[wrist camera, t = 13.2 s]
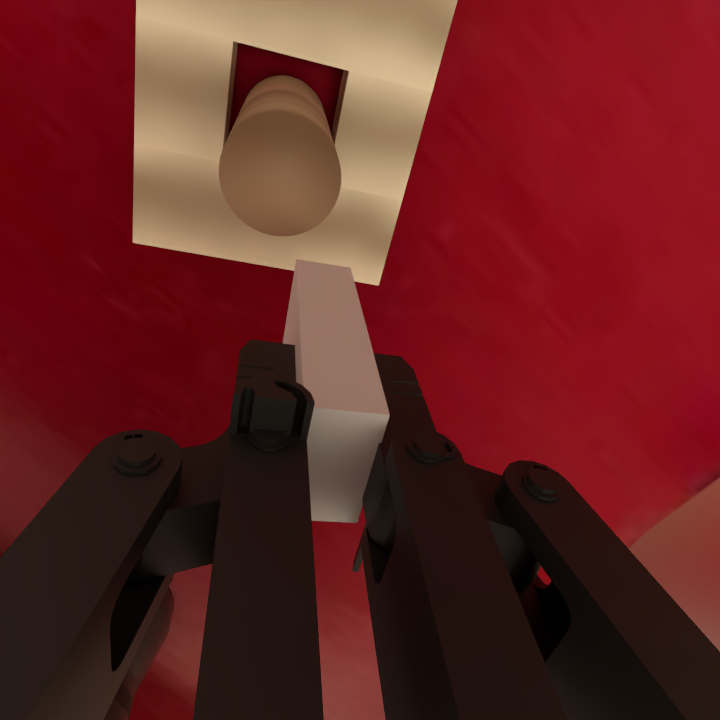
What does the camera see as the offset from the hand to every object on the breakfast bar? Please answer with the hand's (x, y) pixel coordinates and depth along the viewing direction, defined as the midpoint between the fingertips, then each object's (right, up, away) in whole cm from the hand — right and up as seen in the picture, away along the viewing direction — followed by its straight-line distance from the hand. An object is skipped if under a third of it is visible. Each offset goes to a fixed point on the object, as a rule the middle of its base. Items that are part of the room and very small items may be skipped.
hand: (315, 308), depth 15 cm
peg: (-3, +12, +14) cm, 19 cm away
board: (-3, +12, +14) cm, 19 cm away
